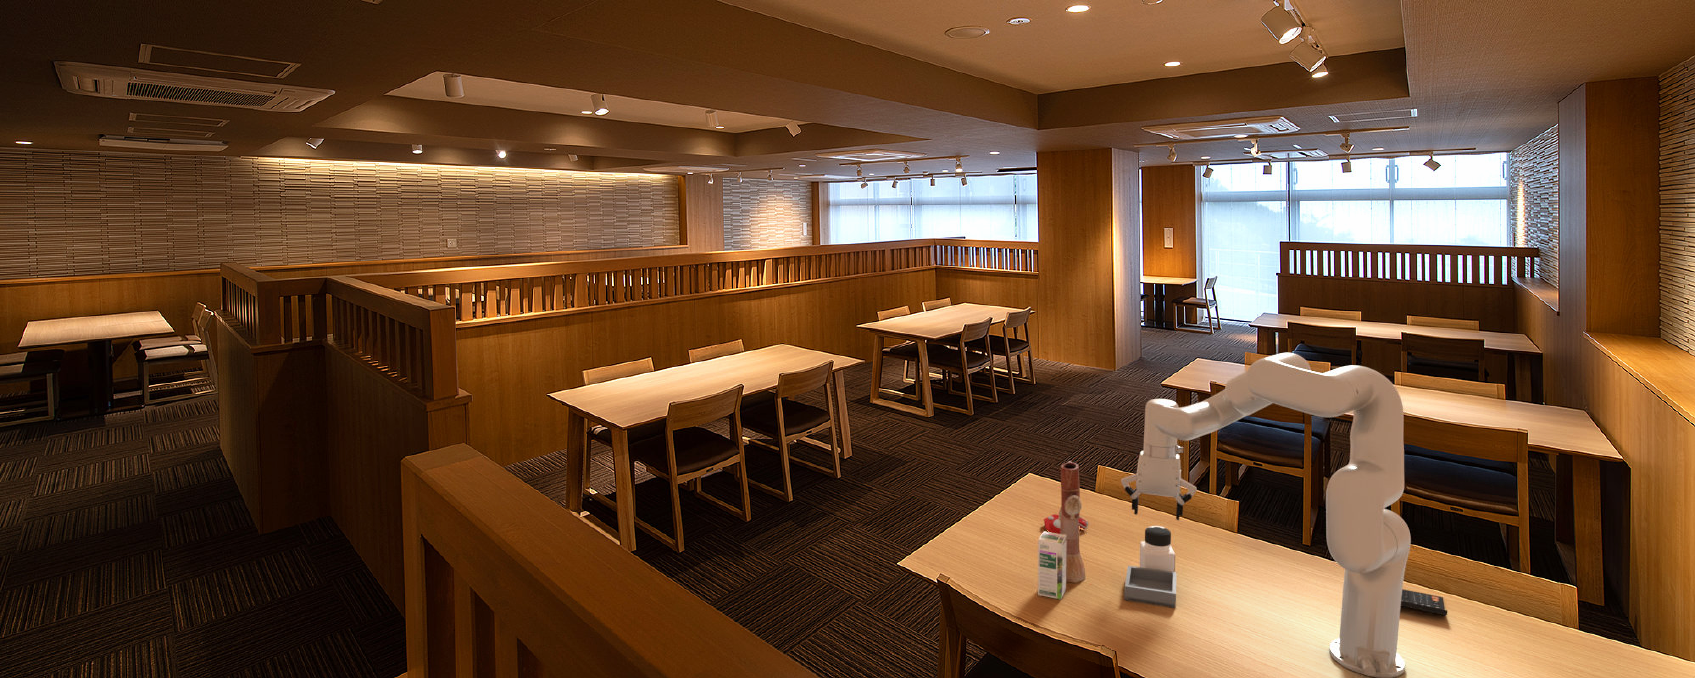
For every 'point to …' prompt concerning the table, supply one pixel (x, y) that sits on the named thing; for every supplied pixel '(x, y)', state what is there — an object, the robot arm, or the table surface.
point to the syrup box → (1052, 565)
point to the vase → (1071, 520)
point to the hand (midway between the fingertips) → (1156, 515)
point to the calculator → (1423, 602)
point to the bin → (1151, 586)
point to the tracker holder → (1054, 524)
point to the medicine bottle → (1157, 549)
